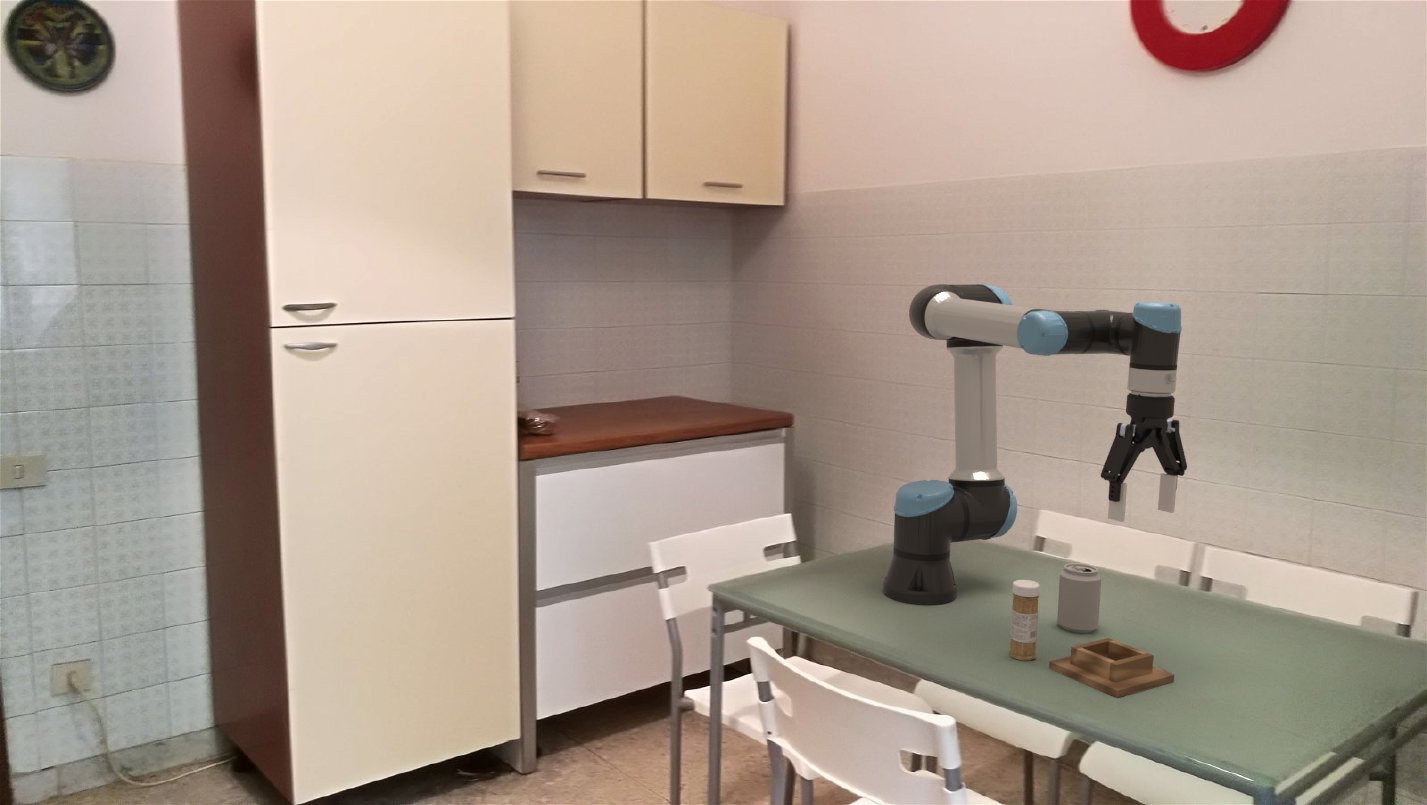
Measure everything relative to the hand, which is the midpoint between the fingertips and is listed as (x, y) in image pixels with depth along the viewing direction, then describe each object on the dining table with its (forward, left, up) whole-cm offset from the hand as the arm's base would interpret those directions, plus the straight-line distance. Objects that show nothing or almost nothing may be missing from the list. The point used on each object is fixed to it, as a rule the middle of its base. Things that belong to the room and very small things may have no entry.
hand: (1141, 515), depth 178 cm
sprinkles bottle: (-10, -16, -26) cm, 32 cm away
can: (-16, +5, -26) cm, 31 cm away
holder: (+3, -9, -26) cm, 28 cm away
